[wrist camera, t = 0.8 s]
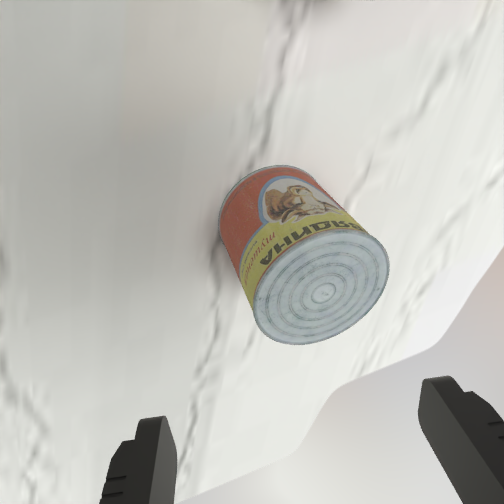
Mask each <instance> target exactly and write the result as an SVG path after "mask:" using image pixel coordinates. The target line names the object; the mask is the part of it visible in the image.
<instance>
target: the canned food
mask: <svg viewBox="0 0 504 504" xmlns="http://www.w3.org/2000/svg"><path fill="white" fill-rule="evenodd" d="M218 226H219V233H220V237H221V239H222V242H223V244H224V245H225V247H226V249H227V251H228V253H229V256H230V258H231V261H232V263H233V265H234V268H235V270H236V272H237V275H238V277H239V280H240V282H241V284H242V287H243V289H244V291H245V294H246V296H247V299H248V301H249V303H250V306H251V308H252V310H253V314H254V318H255V321H256V323H257V325H258V327H259V328H260V330H261V331H262V332H263V333H264V334H265V335H266V336H267V337H269V338H271V339H272V340H274V341H277V342H280V343H284V344H290V345H305V344H311V343H316V342H320V341H323V340H326V339H329V338H331V337H334V336H336V335H338V334H340V333H342V332H343V331H345V330H347V329H348V328H350V327H351V326H353V325H354V324H356V323H357V322H358V321H359V320H360V319H362V318H363V317H364V316H365V315H366V314H367V313H368V312H369V311H370V310H371V309H372V307H373V306H374V305H375V304H376V302H377V301H378V299H379V298H380V296H381V294H382V293H383V291H384V288H385V286H386V283H387V280H388V276H389V258H388V255H387V252H386V250H385V248H384V247H383V246H382V244H381V243H380V242H379V241H378V240H377V239H376V238H374V237H373V236H371V235H370V234H369V233H368V232H367V231H366V230H365V229H364V228H363V227H362V226H360V225H359V224H358V223H357V222H356V221H355V220H354V219H353V218H352V217H351V216H350V215H349V214H348V213H347V212H346V211H345V210H344V209H343V208H342V207H341V206H340V205H339V204H338V203H337V202H336V201H335V200H334V199H333V198H332V197H331V196H330V195H329V194H328V193H327V192H326V191H325V190H324V189H322V188H321V187H320V186H319V185H318V183H317V182H316V181H315V179H314V178H313V177H312V176H310V175H309V174H308V173H307V172H305V171H303V170H301V169H299V168H296V167H292V166H286V165H276V166H269V167H265V168H262V169H259V170H257V171H255V172H253V173H251V174H249V175H248V176H246V177H245V178H243V179H242V180H241V181H239V182H238V183H237V184H236V185H235V186H234V187H233V189H232V190H231V191H230V192H229V194H228V195H227V197H226V198H225V200H224V202H223V204H222V207H221V210H220V214H219V222H218Z"/></svg>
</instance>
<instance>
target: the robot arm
mask: <svg viewBox="0 0 504 504" xmlns="http://www.w3.org/2000/svg"><path fill="white" fill-rule="evenodd" d="M418 418H419V423H420V426H421V429H422V431H423V433H424V435H425V436H426V438H427V440H428V442H429V443H430V445H431V447H432V449H433V451H434V453H435V454H436V456H437V458H438V460H439V461H440V463H441V465H442V467H443V468H444V470H445V472H446V474H447V476H448V478H449V479H450V481H451V483H452V485H453V486H454V488H455V490H456V492H457V493H458V495H459V497H460V499H461V501H462V502H463V504H504V421H503V419H502V418H501V417H500V416H499V414H498V413H497V412H496V411H495V410H494V408H493V407H492V406H491V405H490V404H489V403H488V402H486V401H485V400H484V399H482V398H481V397H479V396H478V395H477V394H475V393H474V392H473V391H471V392H463V390H462V389H461V388H460V386H459V385H458V384H457V382H456V381H455V380H454V379H453V378H452V377H451V376H443V377H435V378H428V379H424V380H423V382H422V388H421V395H420V401H419V408H418ZM176 474H177V451H176V446H175V443H174V440H173V436H172V433H171V430H170V427H169V424H168V420H167V418H166V416H159V417H152V418H145V419H140V421H139V423H138V426H137V431H136V435H135V440H129V441H123V442H122V443H121V445H120V446H119V448H118V449H117V451H116V452H115V454H114V456H113V457H112V459H111V462H110V465H109V469H108V473H107V477H106V482H105V484H104V488H103V491H102V498H101V499H100V503H99V504H174V494H175V484H176Z"/></svg>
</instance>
